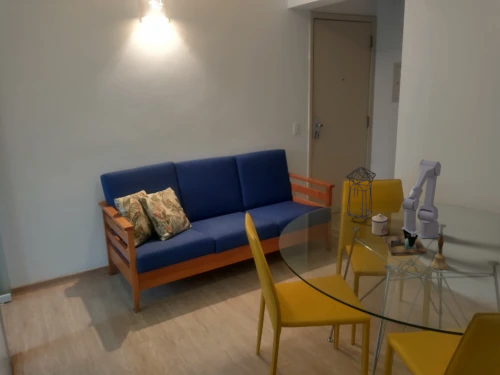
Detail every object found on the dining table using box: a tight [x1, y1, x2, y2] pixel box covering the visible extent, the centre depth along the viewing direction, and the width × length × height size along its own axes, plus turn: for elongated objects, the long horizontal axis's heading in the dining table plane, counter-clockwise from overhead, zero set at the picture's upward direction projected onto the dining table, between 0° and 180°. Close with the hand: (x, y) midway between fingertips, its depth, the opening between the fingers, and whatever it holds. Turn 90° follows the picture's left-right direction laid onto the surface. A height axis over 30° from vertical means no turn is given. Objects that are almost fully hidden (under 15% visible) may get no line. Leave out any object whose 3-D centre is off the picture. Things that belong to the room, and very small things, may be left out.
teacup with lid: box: [371, 213, 389, 236], centre depth 253 cm, size 12×9×12 cm
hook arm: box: [391, 238, 401, 247], centre depth 232 cm, size 5×1×6 cm, turn 86°
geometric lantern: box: [345, 166, 377, 220], centre depth 269 cm, size 16×16×35 cm
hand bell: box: [429, 235, 449, 270], centre depth 210 cm, size 8×8×16 cm
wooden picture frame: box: [382, 235, 427, 256], centre depth 235 cm, size 18×20×2 cm
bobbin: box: [404, 238, 414, 249], centre depth 231 cm, size 4×4×5 cm
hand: (409, 243), depth 231 cm, fingers open, 7 cm apart
